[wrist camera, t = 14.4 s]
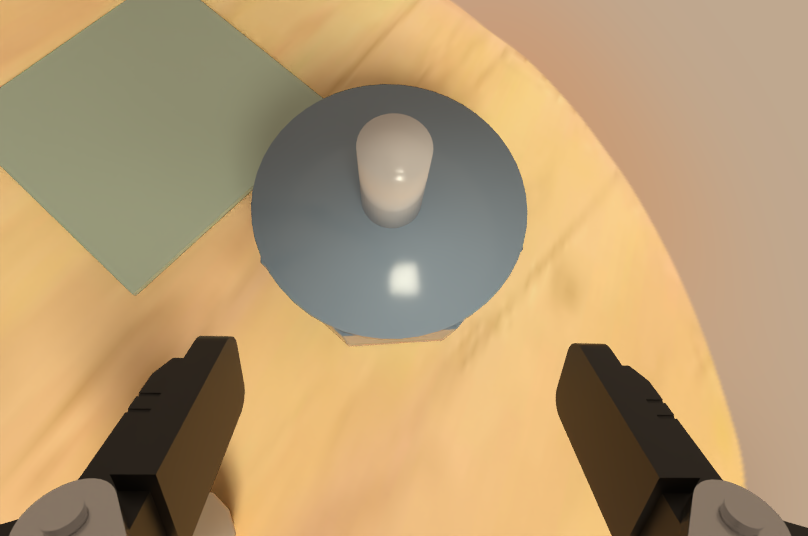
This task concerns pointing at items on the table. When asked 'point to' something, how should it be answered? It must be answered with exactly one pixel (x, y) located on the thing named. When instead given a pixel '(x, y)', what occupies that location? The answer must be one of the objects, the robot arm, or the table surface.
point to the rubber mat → (146, 130)
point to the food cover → (389, 213)
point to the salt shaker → (215, 519)
